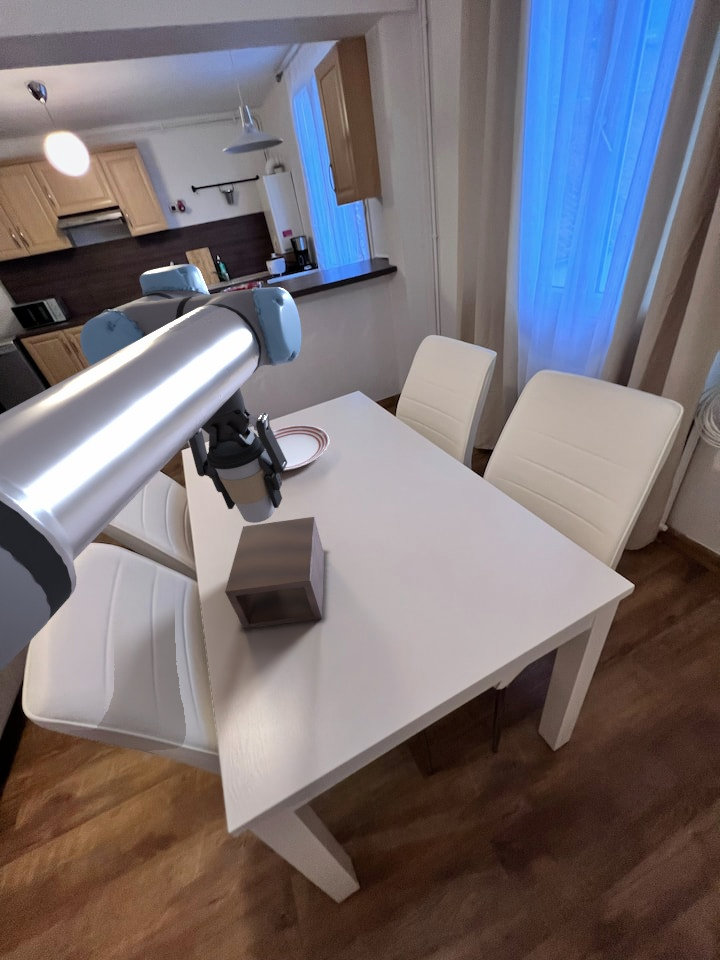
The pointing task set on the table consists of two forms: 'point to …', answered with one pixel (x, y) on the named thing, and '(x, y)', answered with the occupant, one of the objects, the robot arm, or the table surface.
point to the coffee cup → (243, 478)
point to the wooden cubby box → (277, 573)
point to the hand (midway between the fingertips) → (255, 503)
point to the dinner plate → (301, 444)
